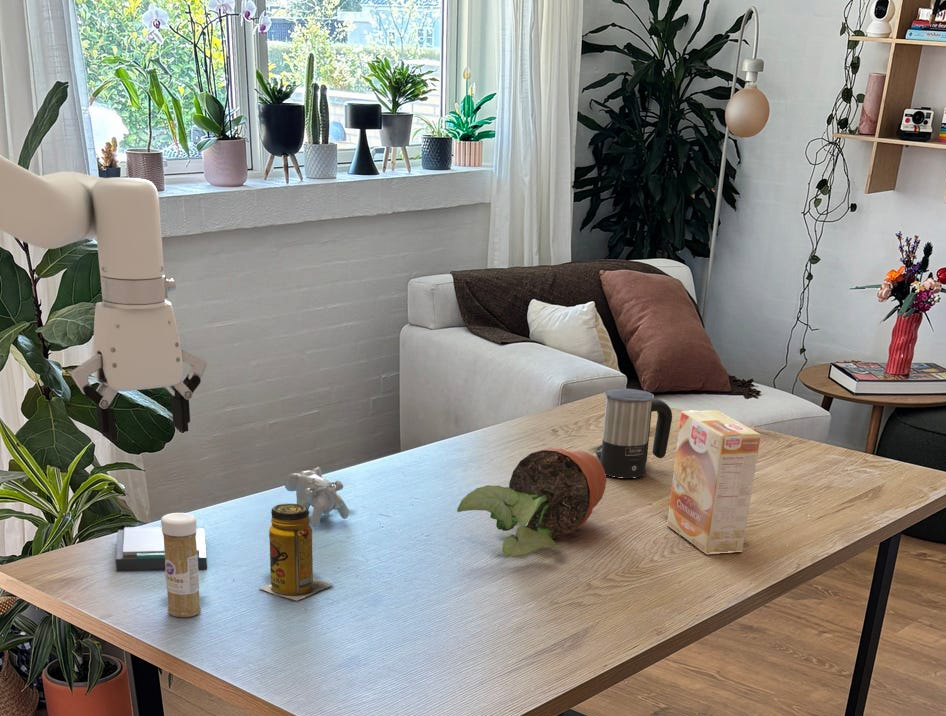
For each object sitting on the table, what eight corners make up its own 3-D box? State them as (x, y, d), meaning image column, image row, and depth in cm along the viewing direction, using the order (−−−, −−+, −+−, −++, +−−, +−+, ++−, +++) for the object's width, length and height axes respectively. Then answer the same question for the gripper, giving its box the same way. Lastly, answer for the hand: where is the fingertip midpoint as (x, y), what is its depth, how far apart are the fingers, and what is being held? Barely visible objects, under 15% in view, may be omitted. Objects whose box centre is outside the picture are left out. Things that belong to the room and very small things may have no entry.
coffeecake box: (664, 526, 222) (679, 410, 212) (702, 523, 224) (718, 409, 214) (704, 556, 209) (722, 434, 200) (743, 553, 212) (763, 433, 202)
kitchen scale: (116, 571, 190) (115, 555, 189) (118, 541, 201) (117, 526, 200) (207, 569, 193) (206, 553, 192) (204, 539, 204) (203, 524, 202)
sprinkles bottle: (161, 614, 177) (153, 518, 170) (180, 603, 181) (174, 509, 174) (189, 621, 176) (182, 524, 169) (208, 610, 179) (203, 515, 172)
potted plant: (532, 518, 227) (439, 560, 198) (546, 430, 220) (453, 460, 191) (614, 541, 221) (532, 586, 192) (632, 451, 214) (549, 485, 185)
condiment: (258, 589, 187) (255, 508, 181) (297, 573, 193) (295, 494, 187) (296, 602, 183) (294, 519, 177) (335, 586, 190) (334, 505, 184)
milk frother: (621, 482, 242) (630, 402, 235) (562, 462, 252) (569, 383, 245) (672, 471, 250) (682, 393, 243) (613, 452, 260) (621, 376, 253)
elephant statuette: (326, 532, 209) (326, 485, 206) (264, 519, 214) (262, 473, 210) (356, 517, 217) (356, 472, 213) (295, 504, 221) (294, 459, 217)
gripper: (186, 282, 164) (195, 419, 173) (52, 290, 155) (68, 434, 164) (213, 292, 159) (220, 432, 168) (75, 301, 150) (91, 449, 159)
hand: (145, 433), depth 166 cm, fingers open, 9 cm apart
